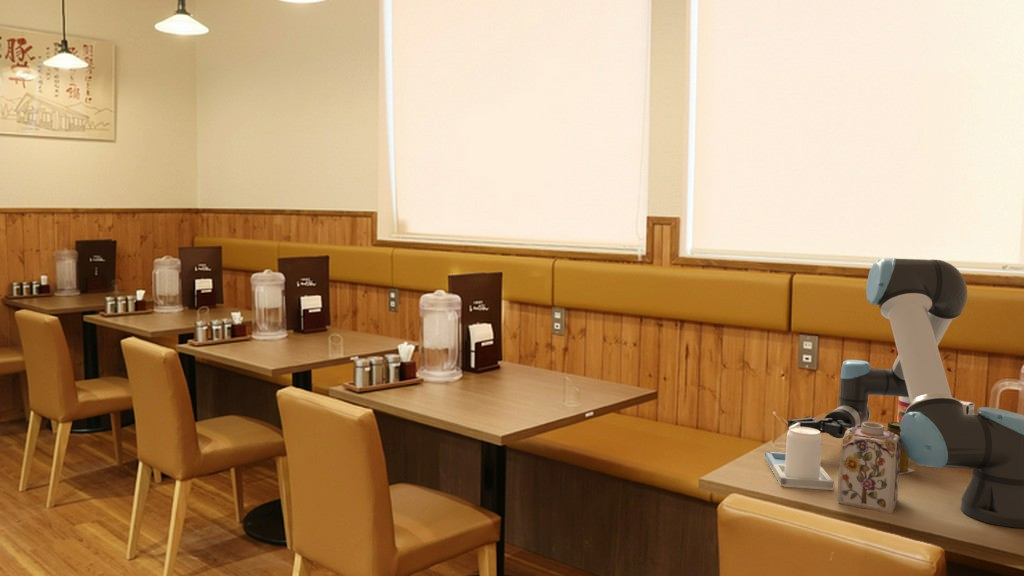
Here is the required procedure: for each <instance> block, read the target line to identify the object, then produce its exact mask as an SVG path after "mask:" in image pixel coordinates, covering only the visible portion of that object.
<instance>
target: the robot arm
mask: <svg viewBox="0 0 1024 576" xmlns="http://www.w3.org/2000/svg"><path fill="white" fill-rule="evenodd" d="M865 294H866V300H867V302H868V303H869V304H871V305H873V306H877V305H878V307H879V311H880V314H881V316H883V318H885V319H887V320H889V323H890V327H891V331H892V334H893V339H894V343H895V347H896V350H897V357H896V358H895V360H894V363H893V364H892V366H891V367H890V368H873V367H871V363H870V362H868V361H865V360H860V359H858V360H857V359H846V360H844V361H843V362H842V364H841V365H842V366H841V369H840V371H841V372H840V376H839V378H840V381H839V382H840V383H839V398H838V407H836V408H835V409H833V410H832V411H830V412H828V413H827V414H826V415H825V417H824V418H823V419H822V418H821V419H820V418H819V419H816V417H815V416H809V417H806V418H804V417H803V418H796V419H788V420H787V430H788V431H789V429H790V428H791V427H808V428H813V429H817V430H819V431H820V434H824V433H825V434H828V435H829V436H831V437H833V438H834V439H835V438H836V439H843V438H844V435H845V431H846V430H847V429H849V428H859V427H861V426H862V423H863V422H869V420H870V417H871V409H870V407H869V405H868V401H869V396H881V397H882V396H884V397H899V396H900V397H909V399H910V403H911V404H910V405H909V406H908V408H907V409H906V414H905V415H904V416H903V417H902V419H901V422H900V430H901V432H900V438H901V442H902V446H903V448H904V450H905V452H906V454H907V456H908V457H909V460H911V462H913V463H915V464H916V465H918V466H922V467H931V468H933V469H940V468H944V469H945V468H947V469H949V468H950V469H952V468H953V469H954V468H955V469H972V475H971V478H970V481H969V482H968V485H966V489H965V491H964V493H963V495H962V497H961V499H960V500H961V501H960V510H961V512H962V513H963V514H965V515H966V516H969V517H971V518H972V519H975V520H978V521H981V522H984V523H987V524H992V525H996V526H997V525H998V526H1000V527H1007V528H1008V527H1009V528H1020V529H1024V414H1020V413H1017V412H1013V411H1009V410H1006V409H1005V410H1004V409H1000V408H996V407H995V408H994V407H988V406H987V407H986V406H982V407H978V409H977V411H976V414H974V415H966V414H965V413H964V410H963V406H962V403H961V402H960V401H961V400H960V399H957V398H955V397H953V395H952V392H951V389H950V386H949V385H950V384H949V381H948V379H947V374H946V371H945V368H944V364H943V361H942V357H941V354H940V350H939V344H940V343H941V341H942V339H943V337H944V335H945V334H946V332H947V330H948V328H949V326H950V324H951V322H952V321H953V320H955V319H957V318H958V317H960V316H961V314H962V312H963V311H964V308H965V307H966V305H967V299H968V286H967V283H966V281H965V278H964V276H963V274H962V273H961V272H960V270H959V269H957V268H956V267H955V266H954V265H952V264H951V263H949V262H947V261H944V260H941V259H921V258H920V259H917V258H915V259H914V258H912V259H911V258H896V257H892V258H879V259H877V260H876V261H874V263H873V264H872V265H871V267H870V269H869V271H868V277H867V280H866V289H865Z"/></svg>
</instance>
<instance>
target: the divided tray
mask: <svg viewBox="0 0 1024 576" xmlns="http://www.w3.org/2000/svg"><path fill="white" fill-rule="evenodd" d="M764 454H765V455H764V459H765V458H766V460H767V462H768V463H769V465H770V467H771V469H772V470H771V469H770V470H771V472H772V471H773V472H772V474H773V473H774V474H775V476H776V477H775V476H774V477H775V479H776V478H777V479H776V481H777V480H778V481H777V482H778V484H779V486H780V487H782V486H784V487H783V488H785V487H786V488H796V489H797V488H799V489H810V490H826V491H834V480H833V479H832V478H831V477H830V476H829V474H828V472H826V471H825V468H824V467H822V465H821V464H820V477H819V479H806V478H792V477H787V476H786V475H785V457H786V452H778V451H765V453H764ZM766 460H765V461H766ZM767 462H766V463H767ZM768 463H767V464H768ZM769 465H768V466H769ZM770 467H769V468H770ZM774 474H773V475H774Z"/></svg>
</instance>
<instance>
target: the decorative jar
mask: <svg viewBox="0 0 1024 576" xmlns="http://www.w3.org/2000/svg"><path fill="white" fill-rule="evenodd" d="M884 429H885V426H884V425H883V424H881V423H877V422H872V421H871V422H869V421H867V422H863V423H862V426H861V427H859V428H849V429H847V430H846V431H845V435H844V438H842V442H841V446H840V457H839V468H838V469H839V471H838V482H837V483H838V484H837V494H836V495H837V497H836V499H837V500H836V501H837V503H838V504H840V505H844V506H849V507H850V506H851V507H857V508H861V509H865V510H870V511H871V510H872V511H876V512H881V513H887V514H893V511H894V509H895V507H896V504H897V501H898V495H899V481H900V475H899V469H900V448H901V440H900V438H899V436H898V435H896V434H894V433H892V432H890V431H887V429H886V430H884Z"/></svg>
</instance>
